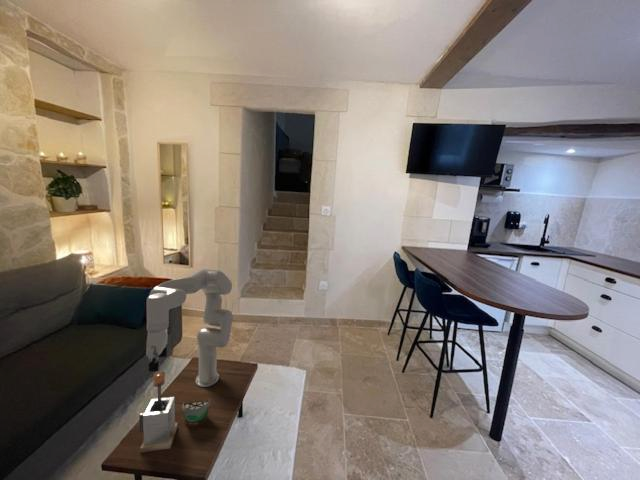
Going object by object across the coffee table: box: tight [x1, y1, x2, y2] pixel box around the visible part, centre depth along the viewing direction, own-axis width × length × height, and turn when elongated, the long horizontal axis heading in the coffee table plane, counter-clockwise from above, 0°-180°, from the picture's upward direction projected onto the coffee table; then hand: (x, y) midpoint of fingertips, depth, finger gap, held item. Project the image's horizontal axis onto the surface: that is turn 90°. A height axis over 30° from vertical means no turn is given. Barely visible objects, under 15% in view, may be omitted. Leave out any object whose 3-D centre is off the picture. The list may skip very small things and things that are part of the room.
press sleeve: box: [139, 396, 176, 446], centre depth 111 cm, size 9×12×14 cm
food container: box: [181, 398, 211, 429], centre depth 121 cm, size 12×6×10 cm, turn 105°
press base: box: [139, 421, 179, 454], centre depth 113 cm, size 11×11×2 cm
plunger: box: [153, 371, 166, 412], centre depth 110 cm, size 5×5×20 cm
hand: (158, 363), depth 107 cm, fingers open, 9 cm apart
